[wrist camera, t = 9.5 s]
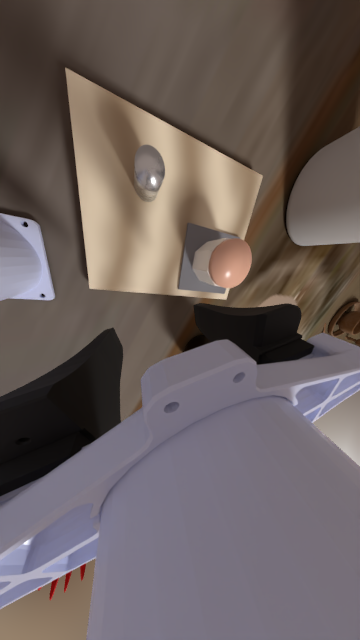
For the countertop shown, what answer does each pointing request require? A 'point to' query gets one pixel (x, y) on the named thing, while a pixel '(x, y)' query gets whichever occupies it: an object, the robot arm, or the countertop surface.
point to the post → (148, 172)
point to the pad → (193, 242)
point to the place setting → (346, 322)
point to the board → (137, 215)
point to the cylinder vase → (328, 196)
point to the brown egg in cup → (223, 262)
